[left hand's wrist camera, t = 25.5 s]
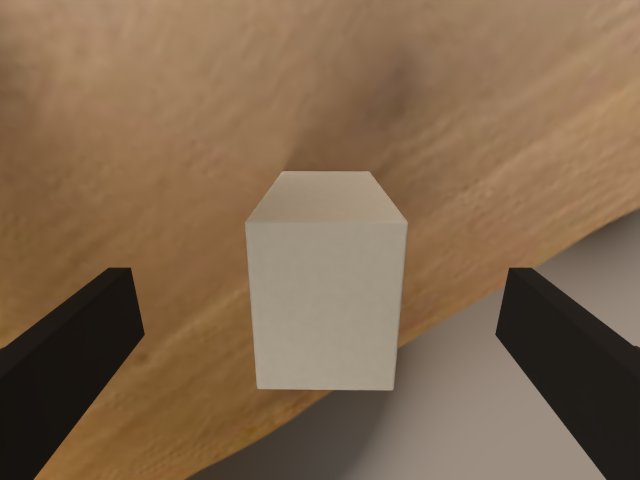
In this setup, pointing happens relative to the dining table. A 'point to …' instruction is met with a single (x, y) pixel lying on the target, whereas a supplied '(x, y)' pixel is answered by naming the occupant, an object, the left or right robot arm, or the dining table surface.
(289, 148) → the dining table surface
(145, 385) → the dining table surface
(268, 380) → the block
